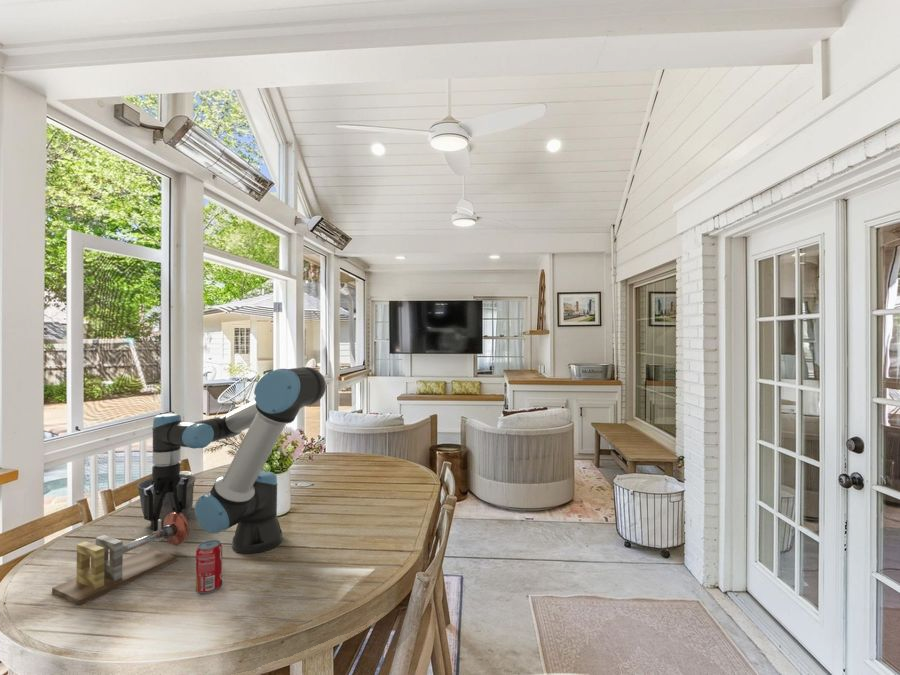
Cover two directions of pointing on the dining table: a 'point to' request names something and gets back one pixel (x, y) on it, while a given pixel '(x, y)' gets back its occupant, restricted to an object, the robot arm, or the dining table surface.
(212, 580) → the soda can
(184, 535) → the red knob rod
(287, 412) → the robot arm
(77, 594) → the board
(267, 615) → the dining table surface
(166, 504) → the grey plant pot
